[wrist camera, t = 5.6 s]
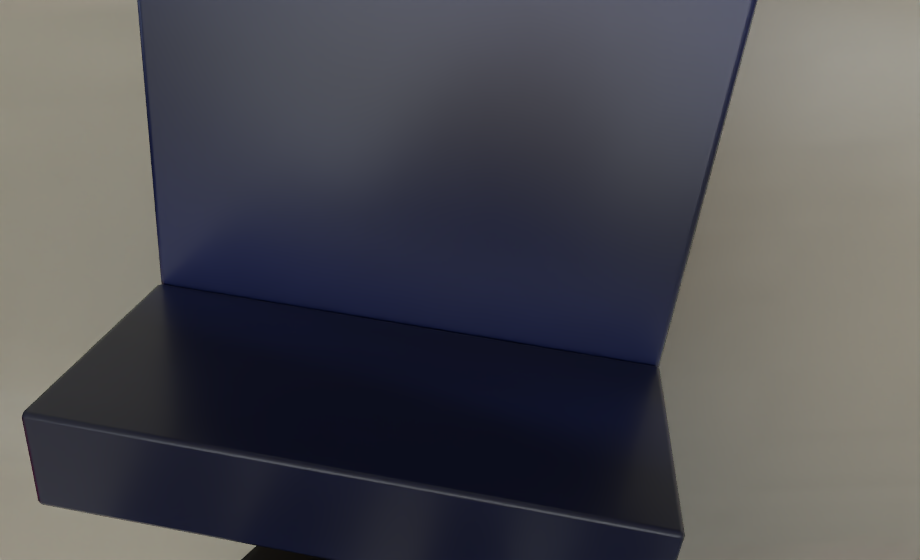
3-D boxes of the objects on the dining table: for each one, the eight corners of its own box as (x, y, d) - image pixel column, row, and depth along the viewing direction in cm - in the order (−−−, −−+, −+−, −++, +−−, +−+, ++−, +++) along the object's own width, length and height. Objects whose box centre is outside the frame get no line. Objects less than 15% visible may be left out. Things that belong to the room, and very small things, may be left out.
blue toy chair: (606, 337, 15) (624, 726, 8) (293, 286, 16) (58, 610, 9) (716, -144, 11) (925, -186, 4) (294, -193, 12) (-126, -299, 5)
